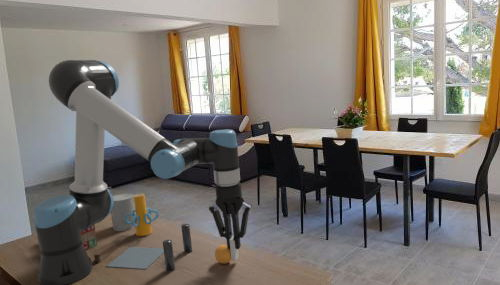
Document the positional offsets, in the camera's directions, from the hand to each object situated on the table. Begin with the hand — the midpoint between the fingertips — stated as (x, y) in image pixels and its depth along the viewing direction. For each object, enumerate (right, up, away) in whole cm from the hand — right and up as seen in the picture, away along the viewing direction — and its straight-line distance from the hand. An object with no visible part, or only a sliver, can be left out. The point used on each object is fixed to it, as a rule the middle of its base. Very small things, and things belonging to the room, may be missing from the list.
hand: (235, 258), depth 120 cm
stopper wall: (-43, -3, +13) cm, 46 cm away
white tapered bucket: (-45, +1, +39) cm, 60 cm away
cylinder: (-35, 0, +30) cm, 47 cm away
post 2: (-16, -1, +11) cm, 20 cm away
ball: (-3, +1, +1) cm, 4 cm away
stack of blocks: (-60, -2, +28) cm, 66 cm away
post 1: (-19, -3, 0) cm, 20 cm away
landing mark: (-32, -3, +10) cm, 34 cm away
